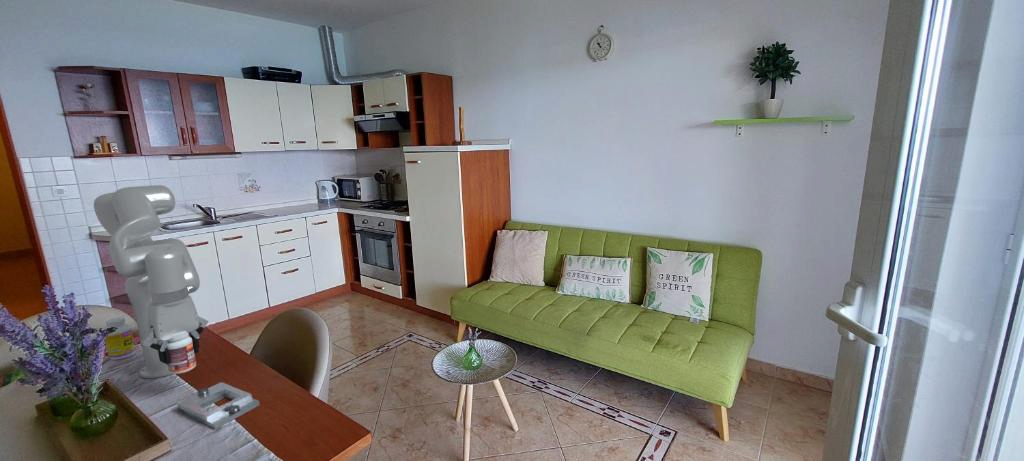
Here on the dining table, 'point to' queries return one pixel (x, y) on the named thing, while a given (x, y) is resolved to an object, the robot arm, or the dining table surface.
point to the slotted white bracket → (222, 414)
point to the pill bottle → (181, 353)
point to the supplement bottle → (119, 339)
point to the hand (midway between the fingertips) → (180, 356)
